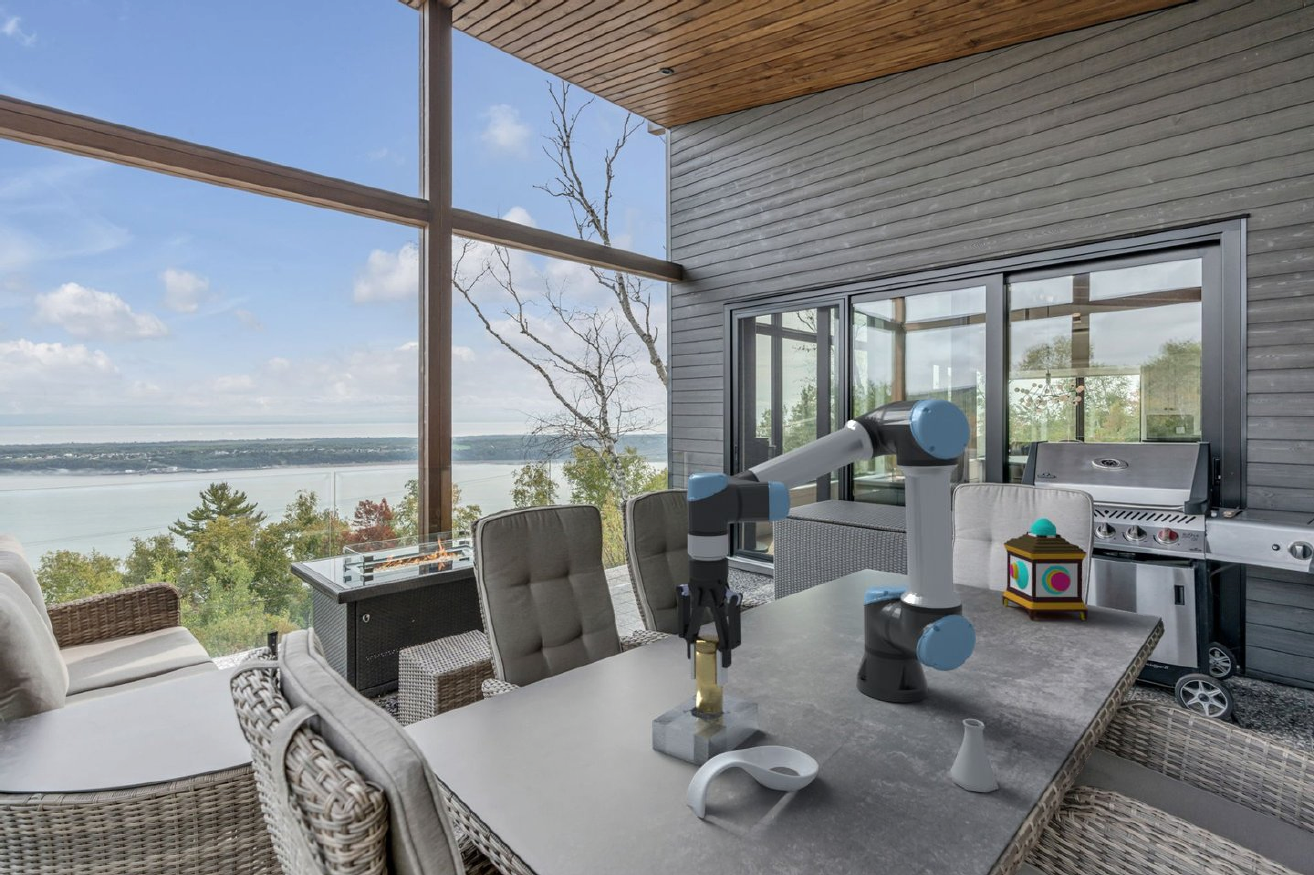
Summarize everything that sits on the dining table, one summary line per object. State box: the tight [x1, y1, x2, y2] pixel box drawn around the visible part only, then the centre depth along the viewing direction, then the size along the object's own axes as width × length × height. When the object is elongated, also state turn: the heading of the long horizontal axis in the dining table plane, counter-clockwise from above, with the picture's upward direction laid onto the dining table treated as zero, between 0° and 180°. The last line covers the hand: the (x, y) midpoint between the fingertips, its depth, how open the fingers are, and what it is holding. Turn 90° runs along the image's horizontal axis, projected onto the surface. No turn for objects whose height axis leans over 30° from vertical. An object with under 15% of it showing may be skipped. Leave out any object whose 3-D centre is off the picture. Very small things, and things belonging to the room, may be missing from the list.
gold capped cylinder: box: [695, 634, 724, 714], centre depth 123 cm, size 5×5×13 cm
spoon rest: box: [685, 745, 820, 819], centre depth 107 cm, size 24×12×7 cm, turn 120°
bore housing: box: [651, 693, 759, 767], centre depth 123 cm, size 12×18×6 cm, turn 143°
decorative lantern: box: [1001, 517, 1089, 621], centre depth 208 cm, size 20×20×30 cm
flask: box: [949, 718, 1000, 793], centre depth 110 cm, size 7×7×10 cm
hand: (709, 680), depth 123 cm, fingers closed on gold capped cylinder, 5 cm apart
